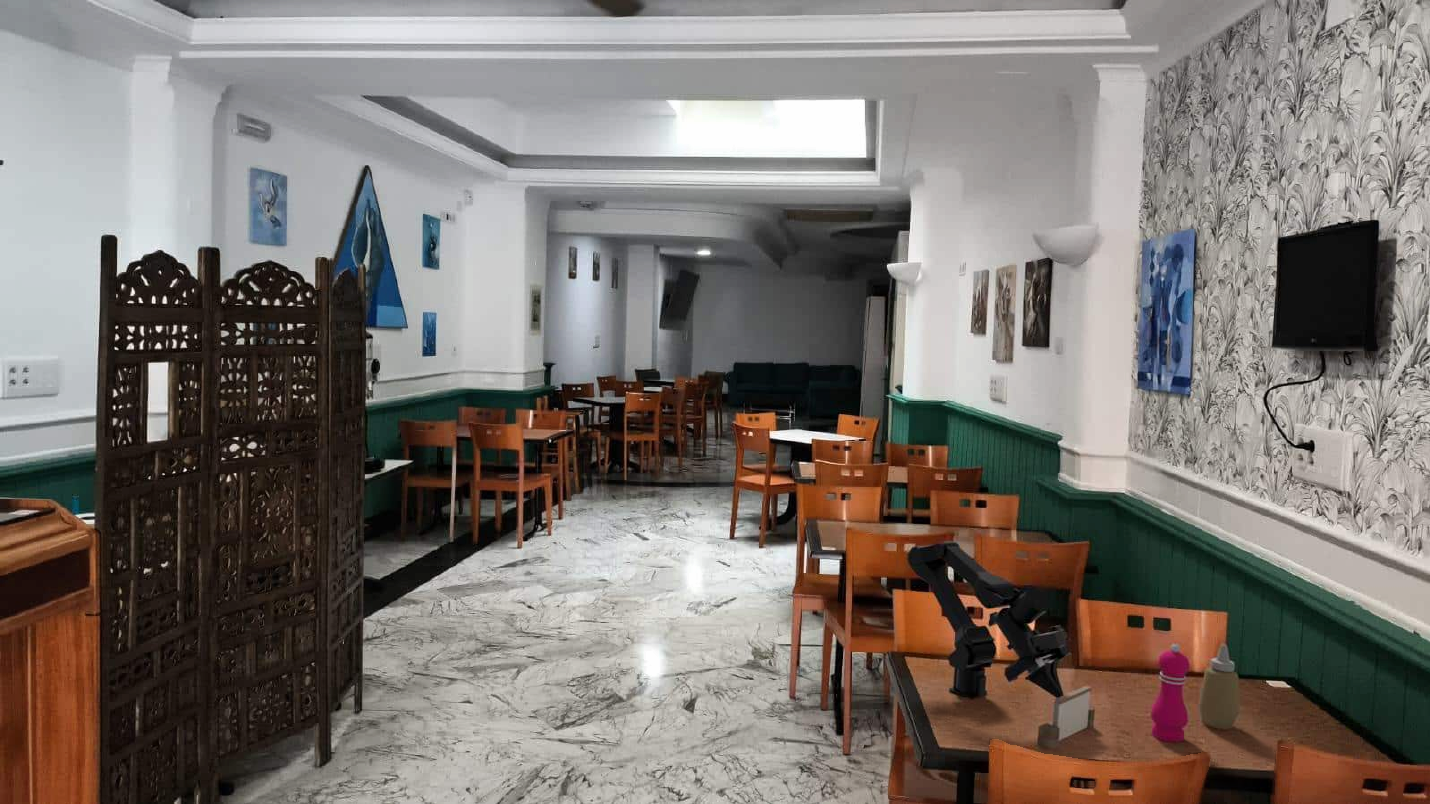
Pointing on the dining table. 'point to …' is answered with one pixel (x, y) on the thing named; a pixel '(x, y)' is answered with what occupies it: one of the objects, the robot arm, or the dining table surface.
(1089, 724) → the gate frame
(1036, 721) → the dining table surface
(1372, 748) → the dining table surface
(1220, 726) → the squeeze bottle
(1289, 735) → the dining table surface
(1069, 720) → the gate
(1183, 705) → the pepper mill
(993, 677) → the dining table surface
